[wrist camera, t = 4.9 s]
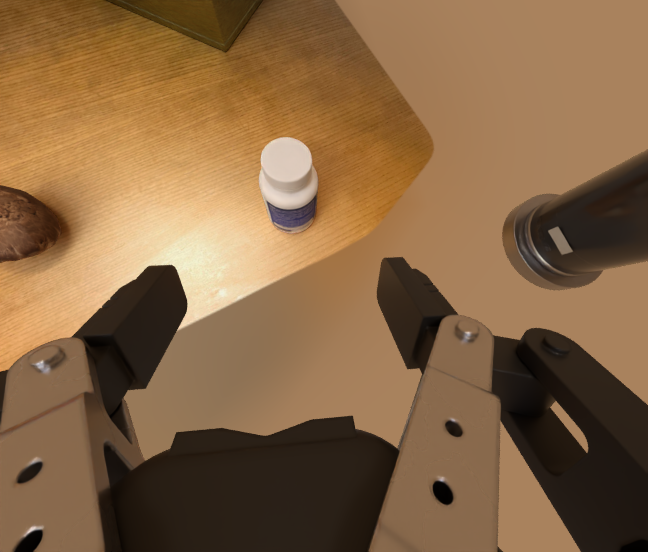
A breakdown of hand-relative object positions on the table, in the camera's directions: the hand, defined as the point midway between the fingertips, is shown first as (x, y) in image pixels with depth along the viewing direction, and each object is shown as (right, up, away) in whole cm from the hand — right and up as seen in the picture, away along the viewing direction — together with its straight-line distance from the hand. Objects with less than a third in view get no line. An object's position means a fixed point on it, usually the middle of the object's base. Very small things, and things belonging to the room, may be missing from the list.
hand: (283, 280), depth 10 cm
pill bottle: (-2, +7, +18) cm, 20 cm away
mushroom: (-28, +4, +15) cm, 32 cm away
